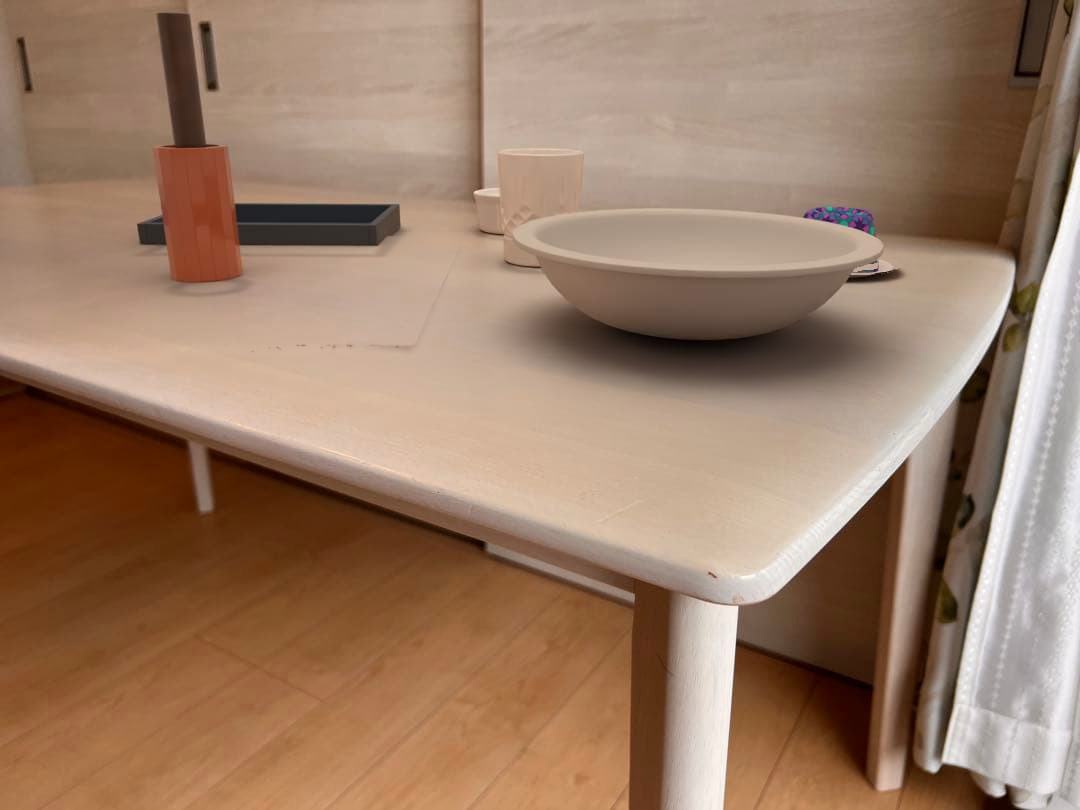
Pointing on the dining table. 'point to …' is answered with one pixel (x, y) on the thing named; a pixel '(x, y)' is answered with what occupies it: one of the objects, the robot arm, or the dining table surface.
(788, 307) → the soup bowl
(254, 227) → the tray
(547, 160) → the white cup
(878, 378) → the dining table surface
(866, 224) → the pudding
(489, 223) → the ramekin
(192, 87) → the stick
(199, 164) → the crock
